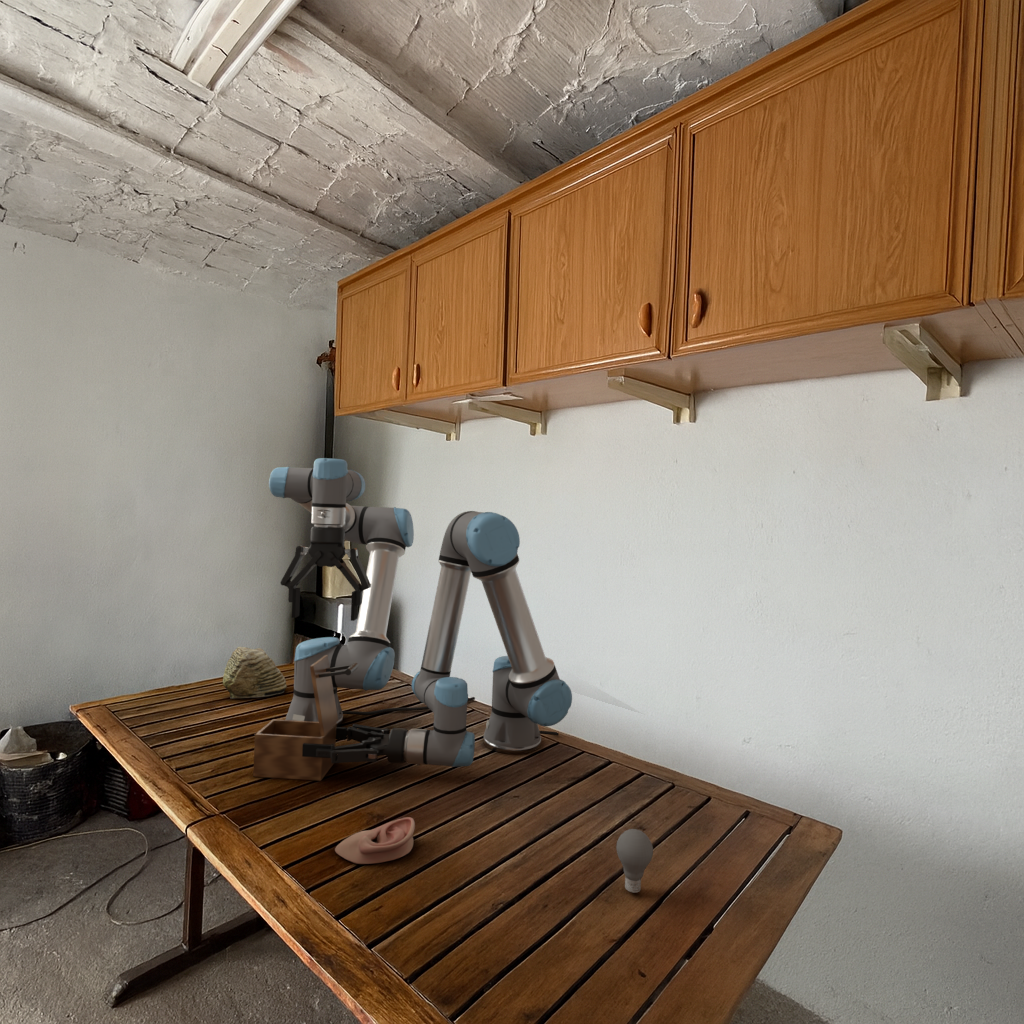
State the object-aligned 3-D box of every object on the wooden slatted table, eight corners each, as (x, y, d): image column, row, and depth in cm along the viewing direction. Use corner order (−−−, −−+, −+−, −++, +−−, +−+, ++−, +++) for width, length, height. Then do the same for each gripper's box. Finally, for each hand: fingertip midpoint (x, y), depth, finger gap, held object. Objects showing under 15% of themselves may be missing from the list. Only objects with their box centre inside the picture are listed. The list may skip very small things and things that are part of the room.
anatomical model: (327, 836, 111) (356, 806, 122) (326, 858, 111) (355, 826, 122) (398, 848, 108) (421, 815, 119) (397, 871, 108) (420, 836, 119)
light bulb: (610, 879, 108) (613, 822, 108) (644, 879, 109) (647, 822, 109) (619, 902, 102) (622, 840, 102) (655, 901, 103) (658, 840, 103)
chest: (253, 776, 142) (254, 734, 142) (271, 758, 152) (273, 719, 152) (320, 780, 141) (322, 738, 141) (334, 762, 151) (336, 722, 151)
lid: (309, 666, 141) (346, 660, 141) (324, 655, 151) (358, 650, 150) (320, 736, 141) (357, 731, 141) (334, 721, 151) (369, 716, 151)
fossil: (218, 695, 195) (220, 647, 195) (278, 685, 208) (279, 640, 207) (228, 703, 189) (230, 653, 188) (289, 692, 201) (290, 645, 201)
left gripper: (267, 524, 142) (264, 618, 142) (378, 529, 141) (374, 623, 141) (281, 522, 149) (277, 612, 150) (385, 527, 149) (382, 617, 149)
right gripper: (395, 784, 134) (292, 778, 135) (415, 743, 157) (326, 738, 158) (397, 749, 134) (293, 743, 135) (416, 713, 157) (327, 708, 157)
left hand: (324, 618), depth 146 cm, fingers open, 13 cm apart
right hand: (311, 740), depth 146 cm, fingers closed on chest, 10 cm apart
